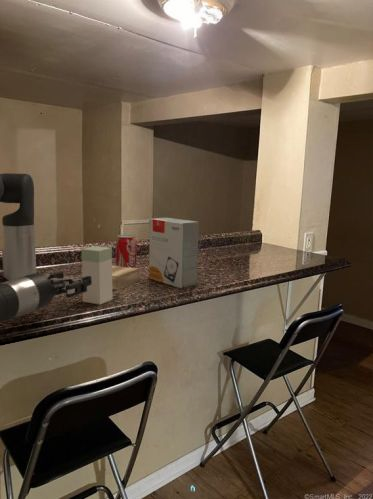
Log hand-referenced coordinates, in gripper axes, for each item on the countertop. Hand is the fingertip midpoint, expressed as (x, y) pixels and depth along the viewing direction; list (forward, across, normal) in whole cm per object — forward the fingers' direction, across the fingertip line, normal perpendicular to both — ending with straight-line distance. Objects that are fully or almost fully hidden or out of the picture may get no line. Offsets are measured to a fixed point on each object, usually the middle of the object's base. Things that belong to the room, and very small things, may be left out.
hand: (75, 278), depth 96 cm
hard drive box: (+35, -9, +8) cm, 37 cm away
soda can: (+39, +11, +8) cm, 42 cm away
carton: (+8, 0, +8) cm, 12 cm away
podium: (+25, +7, +8) cm, 27 cm away
